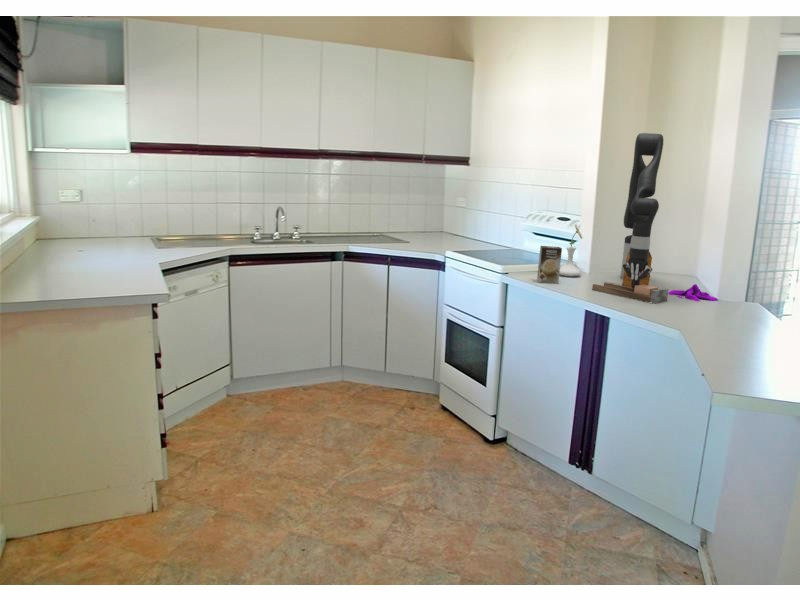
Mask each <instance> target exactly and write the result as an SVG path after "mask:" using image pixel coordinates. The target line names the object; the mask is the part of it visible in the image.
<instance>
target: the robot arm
mask: <svg viewBox="0 0 800 600" xmlns="http://www.w3.org/2000/svg"><path fill="white" fill-rule="evenodd" d="M663 148H664V136H663V134H661V133H647V132H643V133H639V134H637V136H636V138H635V144H634V150H633V151H634V152H633V153H634V154H633V162H632V163H633V164H632V170H631V175H630V181H629V187H628V188H629V189H628V197H627V202H626V207H625V211H624V216H623V226H624V227H625V228H626V229H629V230H630V229H631V230H632V233H631V234H630V235H626V236H625V237H624V243H623V252H622V261H621V270H620V279H622V280H623V275H624V270H625V272H626V274H627V275H628V277H630V278H631V279H632V283H631V287H632V288H634V289H635V286H637V285H639V283H640V280H641V279H644V278H645V277H646V276H647V275H648V274H649V273H650V274H651V272H652V271H653V268H652V267H651V268H650V267H649V266H648V262H647V260H648V256H649V252H650V247H651V234H652V233H651V232H652V226H653V224H654V223H653V222H654V221H655V220H654V219H655V217H656V215H657V213H658V211H659V207H660V205H659V201H658V200H657V199H656V198H651V197H653V196H654V195H655V193H656V185H657V177H658V172H659V169H660V163H661V159H662V154H663ZM643 156H644V157H645V156H648V157H649V156H651V157H652V159H651V161H649V163H648V164H647V165H646V164H645V161H644V158H643ZM629 250H630V252H629ZM628 252H629V260H628V263H626V264H625V262H626V258H627V254H628ZM630 268H631V269H630ZM644 269H645V270H644ZM643 270H644V272H643Z"/></svg>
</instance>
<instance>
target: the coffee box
mask: <svg viewBox="0 0 800 600" xmlns="http://www.w3.org/2000/svg"><path fill="white" fill-rule="evenodd" d="M562 252H563V248H562V247H560V246H553V245H552V246H547V245H540V248H539V256H538V265H537V267H538V269H537V277H536V280H537V282H538V283H545V284H546V283H547V284H559V281H560V274H559V272H560V267H561V262H562V260H561V259H562Z"/></svg>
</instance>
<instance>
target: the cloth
mask: <svg viewBox="0 0 800 600" xmlns="http://www.w3.org/2000/svg"><path fill="white" fill-rule="evenodd" d="M668 294H669V296H676V297H677V298H678V299H683V297H684V299H686V300H690V301H694V302H701V300H705V301H708V302H715V301H719V299H718V298H717V297H714V296H711V295H710V294H709V293H708V292H706V291H705V292H704V291H702V290H701V289H700V288H699V286H698V284H696V283H694V284H692V286H691V287H690V288H688V289H686V290H681V289H679V290H677V289H673V290H670V291H668Z"/></svg>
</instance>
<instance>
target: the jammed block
mask: <svg viewBox="0 0 800 600" xmlns="http://www.w3.org/2000/svg"><path fill="white" fill-rule="evenodd" d="M658 289H660V288H659V287H658V286H653V285H637V286H635V289H634V292H635V293H640V294H644V295H649V296H651V293H652V291H653V290H658Z"/></svg>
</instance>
